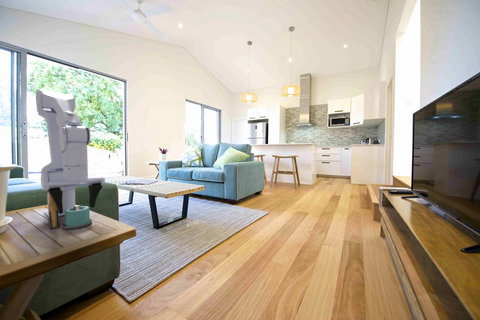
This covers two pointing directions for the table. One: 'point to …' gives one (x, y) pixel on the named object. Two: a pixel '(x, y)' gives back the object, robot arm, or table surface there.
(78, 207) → the dark round peg base
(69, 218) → the collar
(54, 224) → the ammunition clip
